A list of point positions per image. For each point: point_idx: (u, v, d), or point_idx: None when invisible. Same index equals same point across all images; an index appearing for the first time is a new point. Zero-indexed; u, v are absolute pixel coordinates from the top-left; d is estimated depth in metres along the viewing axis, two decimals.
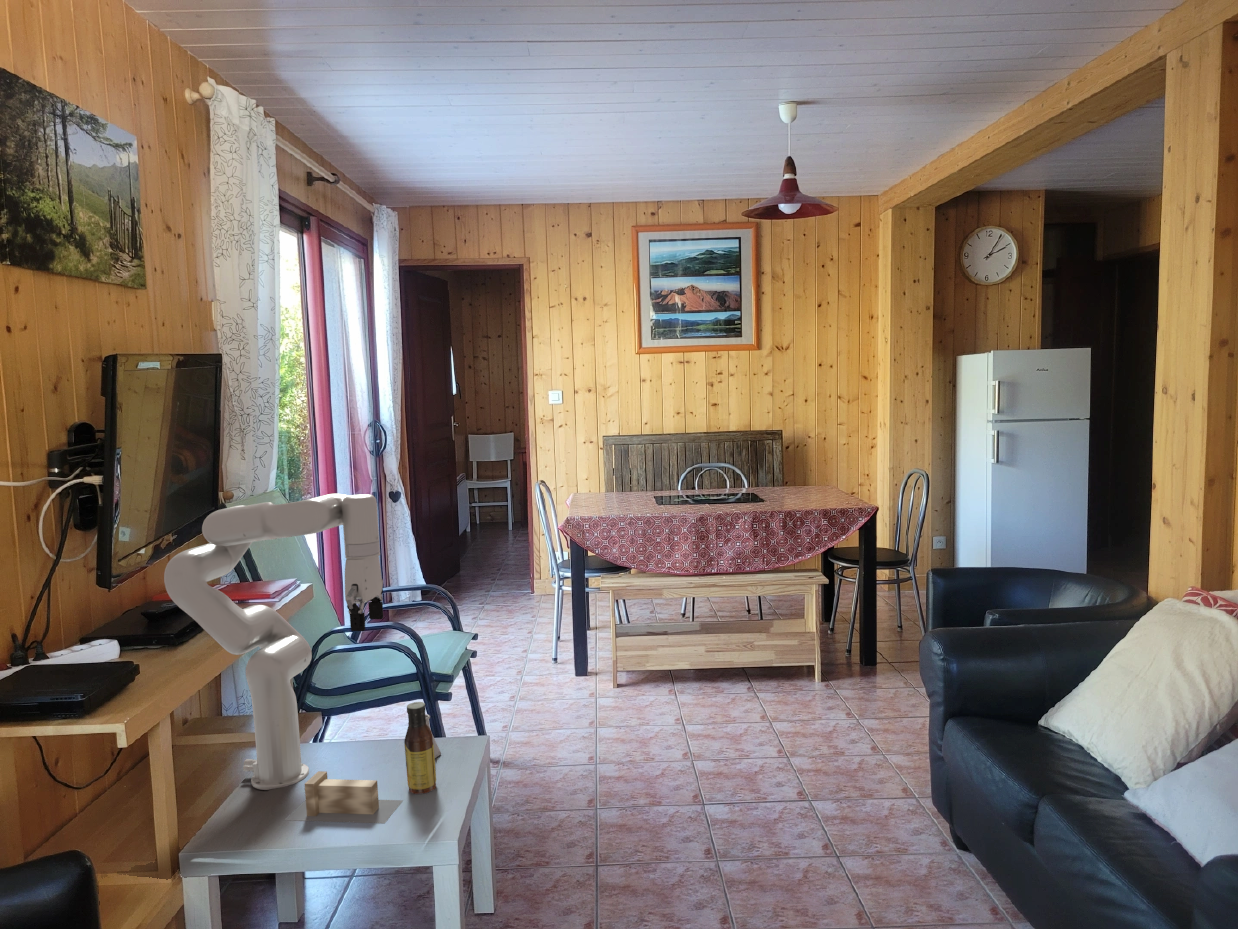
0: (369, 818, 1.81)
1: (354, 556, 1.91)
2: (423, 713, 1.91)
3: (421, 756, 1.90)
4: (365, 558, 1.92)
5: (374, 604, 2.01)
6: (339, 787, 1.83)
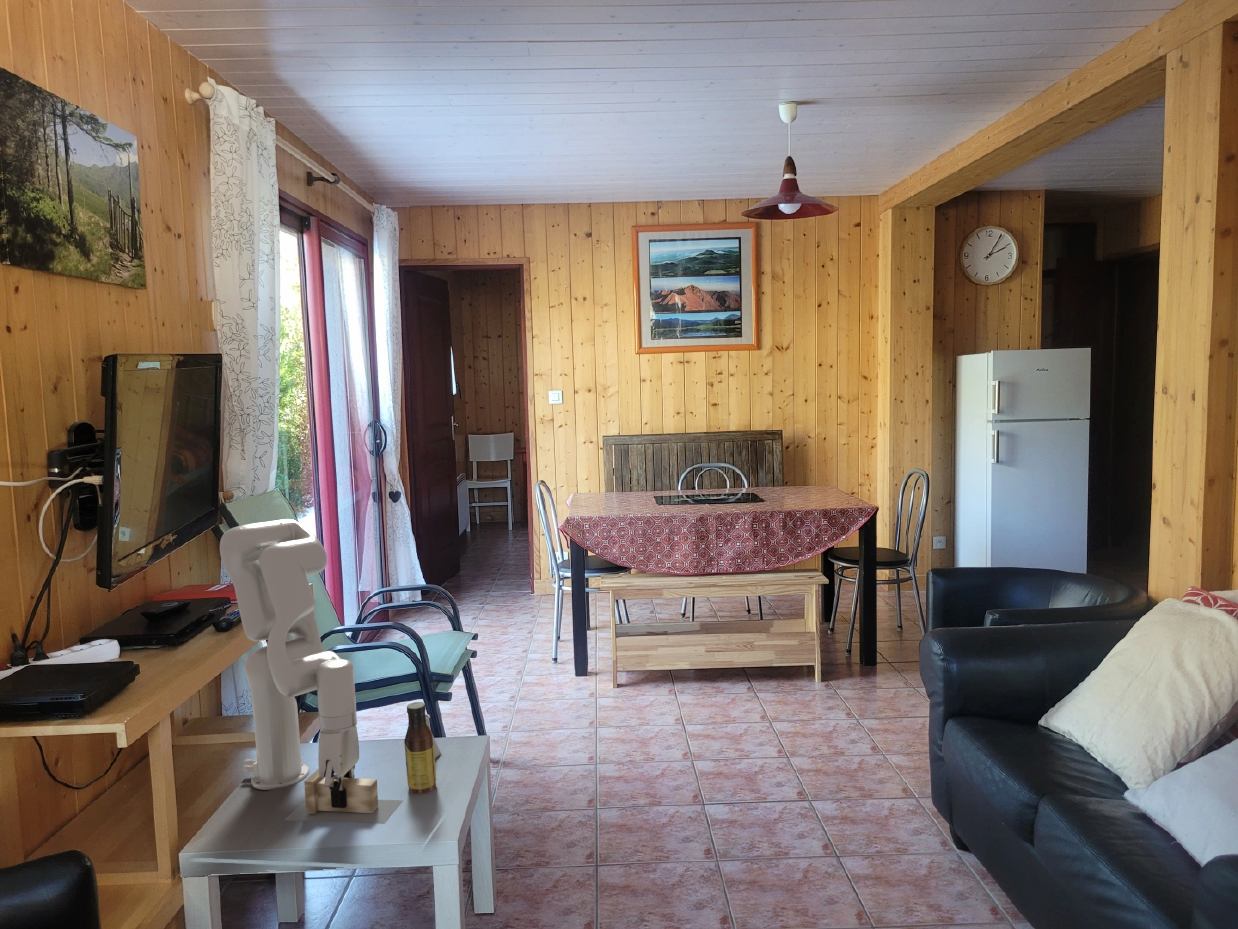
0: (369, 818, 1.81)
1: (329, 729, 1.80)
2: (423, 713, 1.91)
3: (421, 756, 1.90)
4: (340, 731, 1.80)
5: None
6: None
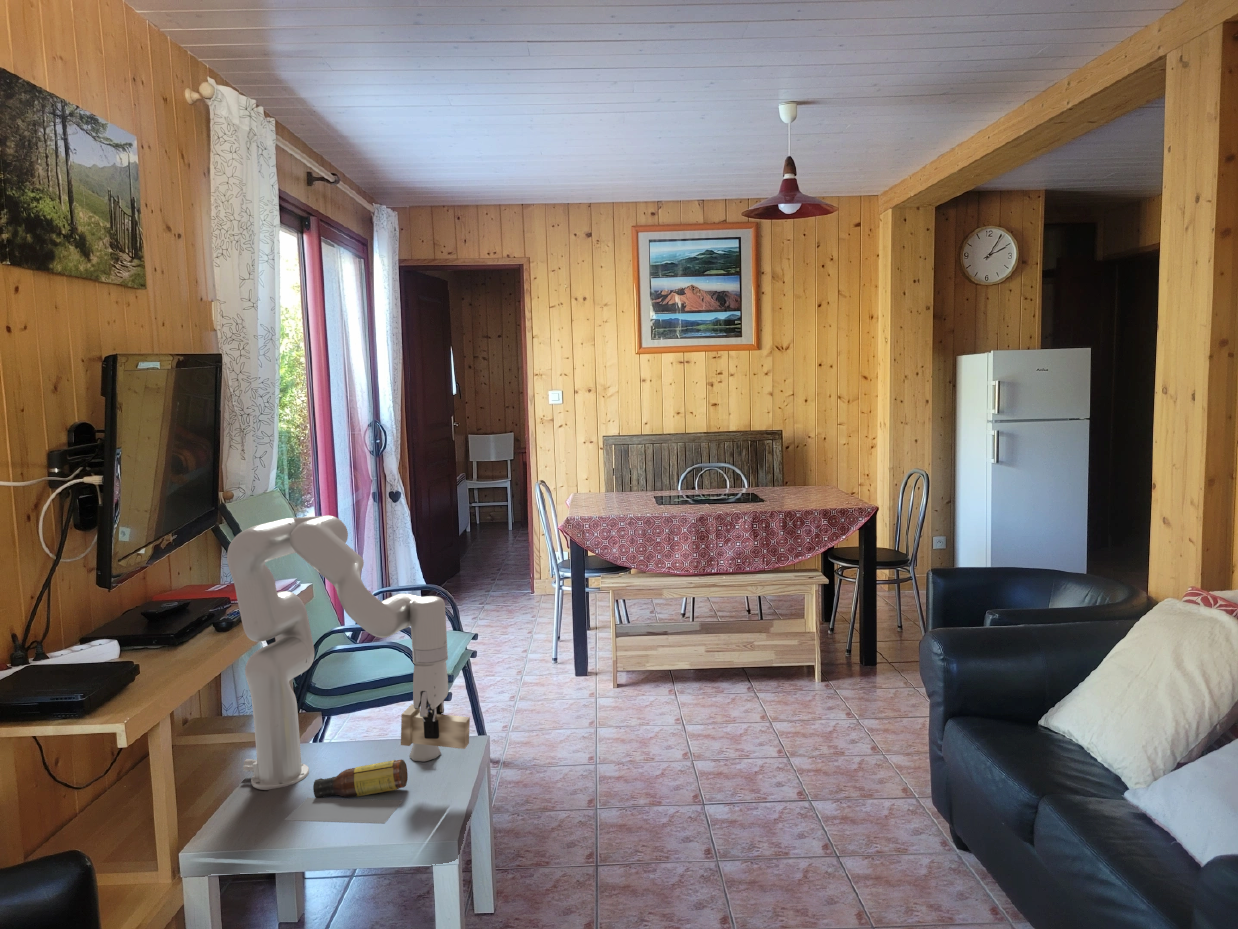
0: (369, 818, 1.81)
1: (423, 662, 1.87)
2: (320, 784, 1.91)
3: (360, 786, 1.90)
4: (434, 664, 1.87)
5: None
6: None
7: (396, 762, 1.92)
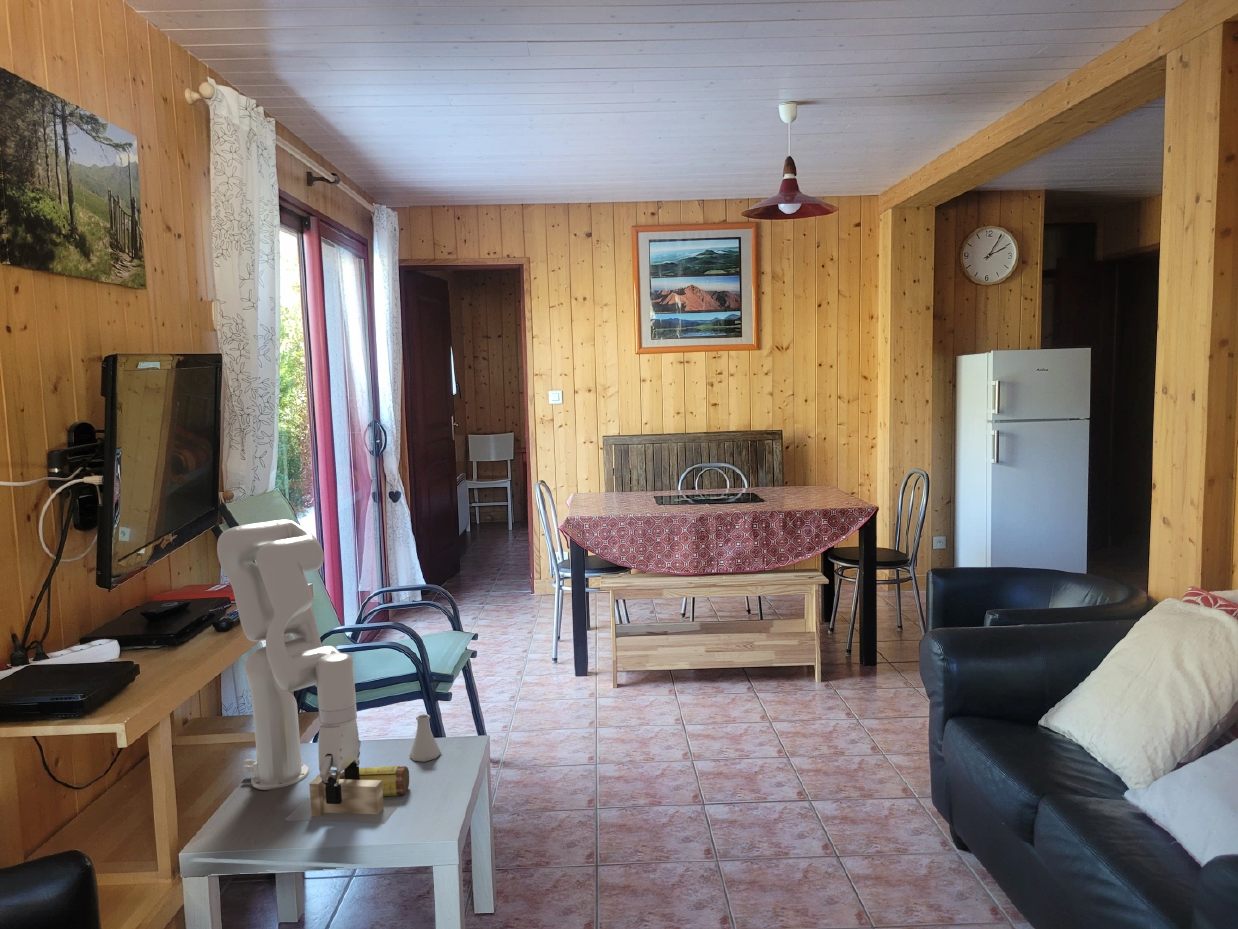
0: (369, 818, 1.81)
1: (328, 723, 1.80)
2: None
3: None
4: (340, 725, 1.80)
5: (350, 769, 1.88)
6: (344, 787, 1.83)
7: (399, 769, 1.91)
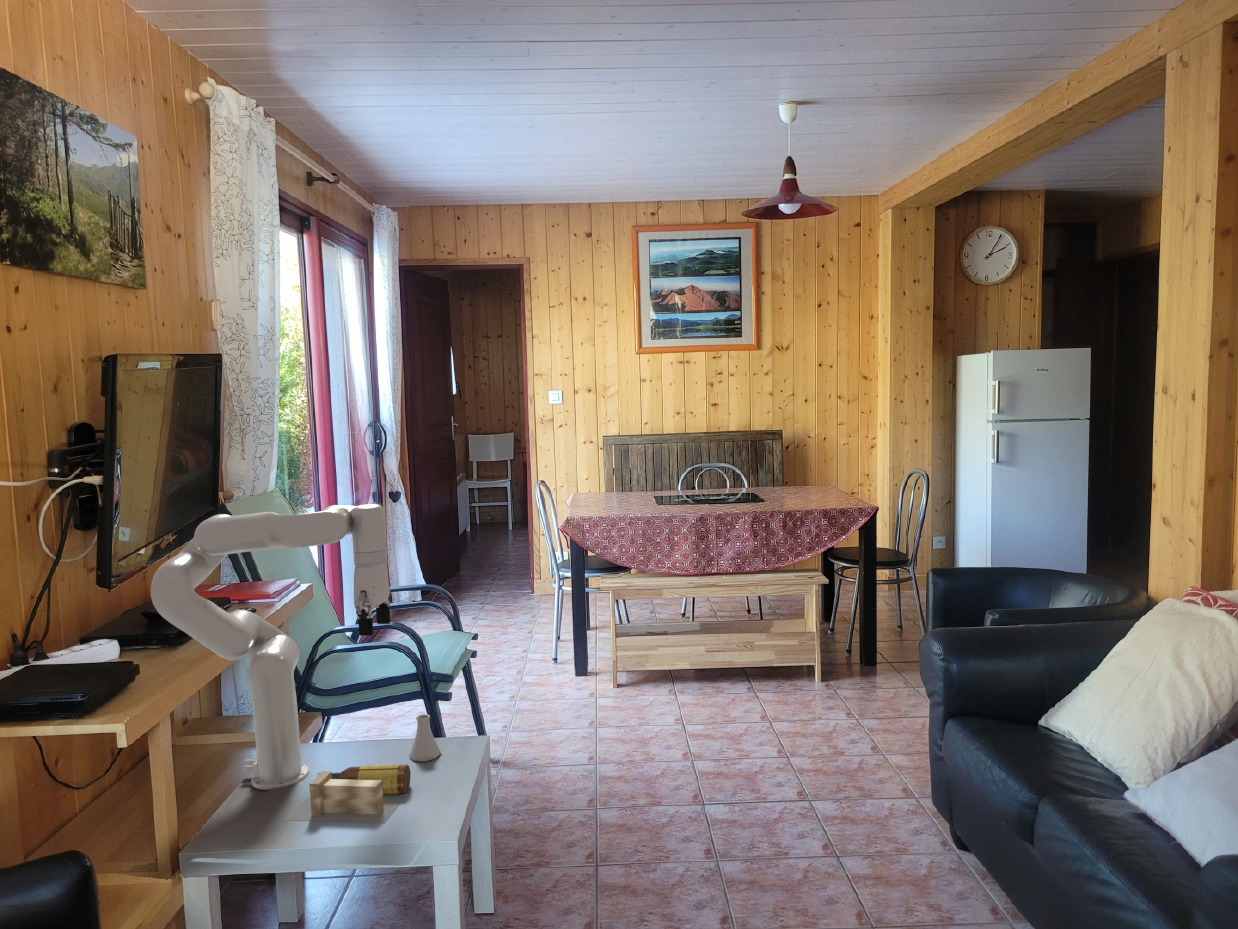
0: (369, 818, 1.81)
1: (363, 564, 2.00)
2: None
3: None
4: (373, 566, 2.00)
5: (381, 609, 2.09)
6: (344, 787, 1.83)
7: (402, 765, 1.93)
